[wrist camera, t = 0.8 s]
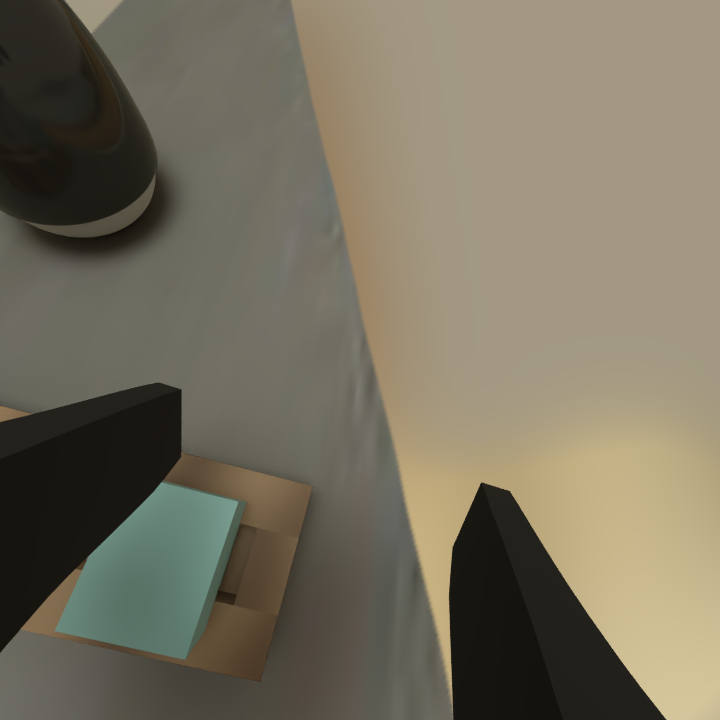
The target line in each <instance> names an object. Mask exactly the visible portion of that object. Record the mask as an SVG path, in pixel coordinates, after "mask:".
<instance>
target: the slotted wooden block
mask: <svg viewBox="0 0 720 720" xmlns="http://www.w3.org/2000/svg"><path fill="white" fill-rule="evenodd" d="M27 415H31V414H30V413H26V412H22V411H18V410H14V409H10V408H6V407H2V406H0V422H2V421H6V420H10V419H15V418H19V417H23V416H27ZM163 481H167V482H171V483H175V484H179V485H183V486H187V487H191V488H195V489H199V490H203V491H207V492H211V493H214V494H218V495H222V496H226V497H230V498H234V499H238V500H242V501H246V502H247V503H246V506H245V509H244V512H243V515H242V518H241V522H240V525H239V530H238V533H237V536H236V539H235V542H234V545H233V548H232V551H231V554H230V557H229V561H228V564H227V567H226V570H225V573H224V576H223V579H222V582H221V585H220V586H219V589H218V592H217V595H216V598H215V601H214V604H213V607H212V610H211V613H210V616H209V619H208V622H207V625H206V628H205V631H204V633H203V634H202V636H201V637H200V639H199V640H198V642H197V643H196V645H195V646H194V648H193V649H192V651H191V652H190V653H189V655H188V656H187V658H186V659H185V660H184V659H179V658H175V657H170V656H165V655H161V654H156V653H152V652H147V651H143V650H138V649H134V648H129V647H125V646H120V645H115V644H111V643H106V642H102V641H97V640H93V639H88V638H84V637H79V636H75V635H70V634H65V633H61V632H56V631H55V629H56V627H57V625H58V622H59V620H60V618H61V616H62V614H63V612H64V609H65V607H66V605H67V603H68V601H69V598H70V596H71V594H72V592H73V590H74V587H75V585H76V583H77V581H78V579H79V576H80V574H81V572H82V570H83V568H84V566H85V563H86V561H87V559H88V557H89V556H88V557H87V558H86V559H85V560H84V561H83V562H82V563H81V564H80V565H79V566H78V567H77V568H76V569H75V570H74V571H73V572H72V573H71V574H70V575H69V576H68V577H67V578H66V579H65V580H64V581H63V582H62V583H61V584H60V585H59V586H58V588H57V589H56V590H55V591H54V592H53V593H52V594H51V595H50V596H49V597H48V598H47V599H46V600H45V601H44V603H43V604H42V605H41V606H40V607H39V608H38V610H37V611H36V612H35V613H34V614H33V615H32V616H31V618H30V619H29V620H28V621H27V622H26V623H25V624H24V626H23V627H22V628H21V629H20V630H25V631H29V632H34V633H39V634H43V635H48V636H52V637H57V638H61V639H66V640H71V641H75V642H80V643H84V644H89V645H93V646H98V647H103V648H107V649H112V650H116V651H121V652H125V653H130V654H135V655H139V656H144V657H148V658H153V659H157V660H162V661H166V662H171V663H176V664H180V665H185V666H189V667H194V668H198V669H203V670H208V671H212V672H217V673H221V674H226V675H230V676H235V677H240V678H244V679H249V680H253V681H258V682H260V681H261V677H262V673H263V670H264V666H265V662H266V659H267V655H268V651H269V647H270V644H271V640H272V636H273V632H274V629H275V625H276V621H277V618H278V614H279V610H280V606H281V603H282V599H283V595H284V592H285V588H286V584H287V580H288V577H289V573H290V569H291V565H292V562H293V558H294V554H295V551H296V547H297V543H298V539H299V536H300V532H301V528H302V524H303V521H304V517H305V513H306V510H307V506H308V502H309V498H310V495H311V491H312V487H313V486H310V485H306V484H302V483H298V482H294V481H290V480H286V479H282V478H278V477H275V476H271V475H267V474H263V473H259V472H255V471H251V470H247V469H243V468H240V467H236V466H232V465H228V464H224V463H220V462H216V461H212V460H208V459H205V458H201V457H197V456H193V455H189V454H185V453H181V458H180V459H179V461H178V462H177V463H176V465H175V466H174V467H173V468H172V470H171V471H170V472H169V474H168V475H167V476H166V478H165V479H164V480H163Z"/></svg>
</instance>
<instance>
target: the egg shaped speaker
mask: <svg viewBox="0 0 720 720" xmlns="http://www.w3.org/2000/svg"><path fill="white" fill-rule="evenodd" d="M156 168H157V151H156V147H155V144H154V141H153V138H152V136H151V133H150V131H149V129H148V126H147V124H146V122H145V120H144V118H143V116H142V115H141V113H140V111H139V109H138V107H137V105H136V104H135V102H134V100H133V98H132V96H131V95H130V93H129V91H128V89H127V88H126V86H125V84H124V83H123V81H122V79H121V78H120V76H119V74H118V73H117V71H116V70H115V68H114V66H113V65H112V63H111V62H110V60H109V59H108V57H107V56H106V54H105V53H104V51H103V50H102V48H101V47H100V46H99V44H98V43H97V41H96V40H95V39H94V37H93V36H92V34H91V33H90V32H89V30H88V29H87V28H86V26H85V25H84V24H83V22H82V21H81V20H80V19H79V17H78V16H77V15H76V13H75V12H74V11H73V10H72V8H71V7H70V6H69V5H68V3H67V2H66V1H65V0H0V211H2V212H4V213H6V214H8V215H10V216H12V217H14V218H17V219H20V220H23V221H25V222H26V223H28V224H31V225H33V226H35V227H37V228H39V229H42V230H45V231H48V232H51V233H54V234H58V235H63V236H69V237H97V236H103V235H107V234H111V233H114V232H116V231H119V230H121V229H123V228H125V227H127V226H128V225H130V224H131V223H133V222H134V221H135V220H136V219H137V218H138V217H139V216H140V215H141V214H142V213H143V212H144V211H145V209H146V208H147V206H148V204H149V202H150V200H151V198H152V195H153V192H154V187H155V172H156Z"/></svg>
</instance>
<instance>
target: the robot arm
mask: <svg viewBox="0 0 720 720" xmlns="http://www.w3.org/2000/svg"><path fill="white" fill-rule="evenodd" d="M180 458H181V389H178V388H175V387H172V386H168V385H165V384H162V383H154V384H148V385H144V386H139V387H135V388H131V389H127V390H123V391H119V392H116V393H112V394H108V395H104V396H100V397H97V398H93V399H89V400H85V401H82V402H78V403H74V404H70V405H67V406H63V407H59V408H55V409H52V410H48V411H44V412H40V413H36V414H31V415H27V416H23V417H19V418H15V419H10V420H6V421H2V422H0V652H1V651H2V650H3V649H4V648H5V646H6V645H7V644H8V643H9V642H10V641H11V639H12V638H13V637H14V636H15V635H16V634H17V633H18V631H19V630H20V629H21V628H22V627H23V626H24V624H25V623H26V622H27V621H28V620H29V619H30V618H31V616H32V615H33V614H34V613H35V612H36V611H37V610H38V608H39V607H40V606H41V605H42V604H43V603H44V601H45V600H46V599H47V598H48V597H49V596H50V595H51V594H52V593H53V592H54V591H55V590H56V589H57V588H58V586H59V585H60V584H61V583H62V582H63V581H64V580H65V579H66V578H67V577H68V576H69V575H70V574H71V573H72V572H73V571H74V570H75V569H76V568H77V567H78V566H79V565H80V564H81V563H82V562H83V561H84V560H85V559H86V558H87V557H88V556H89V555H90V554H91V553H92V552H94V551H95V550H96V549H97V548H98V547H99V546H100V545H101V544H102V543H103V542H104V541H105V540H106V539H107V538H108V537H109V536H110V535H111V534H112V533H113V532H114V531H115V530H116V529H117V528H118V527H119V526H120V525H121V524H122V523H123V522H124V521H125V520H126V519H127V518H128V517H129V516H130V515H131V514H132V513H133V512H134V511H135V510H136V509H137V508H138V507H139V506H140V505H141V504H142V503H143V502H144V501H145V500H146V499H147V498H148V497H149V496H150V495H151V494H152V493H153V492H154V491H155V490H156V488H157V487H158V486H159V485H160V484H161V482H162V481H163V480H164V479H165V478H166V476H167V475H168V474H169V472H170V471H171V470H172V468H173V467H174V466H175V465H176V463H177V462H178V461H179V459H180ZM449 611H450V639H451V665H452V666H451V667H452V693H453V719H454V720H666V719H665V718H664V716H663V715H662V714H661V712H660V711H659V710H658V709H657V707H656V706H655V705H654V704H653V702H652V701H651V700H650V698H649V697H648V696H647V695H646V693H645V692H644V691H643V690H642V689H641V687H640V686H639V684H638V683H637V682H636V680H635V679H634V678H633V676H632V675H631V674H630V672H629V671H628V670H627V668H626V667H625V666H624V664H623V663H622V662H621V660H620V659H619V658H618V656H617V655H616V653H615V652H614V651H613V649H612V648H611V646H610V645H609V643H608V642H607V641H606V639H605V638H604V636H603V635H602V633H601V632H600V631H599V629H598V628H597V627H596V625H595V624H594V622H593V621H592V619H591V618H590V617H589V615H588V614H587V612H586V611H585V609H584V608H583V606H582V605H581V603H580V602H579V600H578V599H577V597H576V596H575V595H574V593H573V591H572V590H571V588H570V587H569V585H568V584H567V582H566V581H565V579H564V578H563V576H562V574H561V573H560V572H559V570H558V568H557V567H556V565H555V564H554V562H553V560H552V559H551V557H550V556H549V554H548V553H547V551H546V549H545V548H544V546H543V544H542V543H541V541H540V540H539V538H538V536H537V535H536V533H535V531H534V530H533V528H532V527H531V525H530V523H529V522H528V520H527V518H526V517H525V515H524V513H523V512H522V510H521V508H520V507H519V505H518V503H517V502H516V500H515V499H514V497H513V496H512V494H511V493H510V491H507V490H504V489H501V488H498V487H494V486H491V485H488V484H485V483H481V484H480V487H479V489H478V491H477V493H476V496H475V498H474V500H473V502H472V505H471V507H470V510H469V512H468V514H467V516H466V518H465V521H464V523H463V525H462V527H461V530H460V532H459V534H458V536H457V539H456V541H455V543H454V546H453V550H452V562H451V575H450V588H449Z"/></svg>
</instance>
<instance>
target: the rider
mask: <svg viewBox="0 0 720 720" xmlns="http://www.w3.org/2000/svg"><path fill="white" fill-rule="evenodd" d="M246 503H247V502H246V501H242V500H238V499H234V498H230V497H226V496H222V495H218V494H214V493H211V492H207V491H203V490H199V489H195V488H191V487H187V486H183V485H179V484H175V483H171V482H167V481H162V482H161V484H160V485H159V486H158V487H157V488H156V490H155V491H154V492H153V493H152V494H151V495H150V496H149V497H148V498H147V499H146V500H145V501H144V502H143V503H142V504H141V505H140V506H139V507H138V508H137V509H136V510H135V511H134V512H133V513H132V514H131V515H130V516H129V517H128V518H127V519H126V520H125V521H124V522H123V523H122V524H121V525H120V526H119V527H118V528H117V529H116V530H115V531H114V532H113V533H112V534H111V535H110V536H109V537H108V538H107V539H106V540H105V541H104V542H103V543H102V544H101V545H100V546H99V547H98V548H97V549H96V550H95V551H94V552H92V553H91V554H90V555H89V557H88V559H87V561H86V563H85V566H84V568H83V570H82V572H81V574H80V576H79V579H78V581H77V583H76V585H75V587H74V590H73V592H72V594H71V596H70V598H69V601H68V603H67V605H66V607H65V609H64V612H63V614H62V616H61V618H60V620H59V622H58V625H57V627H56V629H55V631H56V632H61V633H65V634H70V635H75V636H79V637H84V638H88V639H93V640H97V641H102V642H106V643H111V644H115V645H120V646H125V647H129V648H134V649H138V650H143V651H147V652H152V653H156V654H161V655H165V656H170V657H175V658H179V659H184V660H185V659H186V658H187V656H188V655H189V653H190V652H191V651H192V649H193V648H194V646H195V645H196V643H197V642H198V640H199V639H200V637H201V636H202V634H203V633H204V631H205V628H206V625H207V622H208V619H209V616H210V613H211V610H212V607H213V604H214V601H215V598H216V595H217V592H218V589H219V586H220V585H221V582H222V579H223V576H224V573H225V570H226V567H227V564H228V561H229V557H230V554H231V551H232V548H233V545H234V542H235V539H236V536H237V533H238V530H239V525H240V522H241V518H242V515H243V512H244V509H245V506H246Z"/></svg>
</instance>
